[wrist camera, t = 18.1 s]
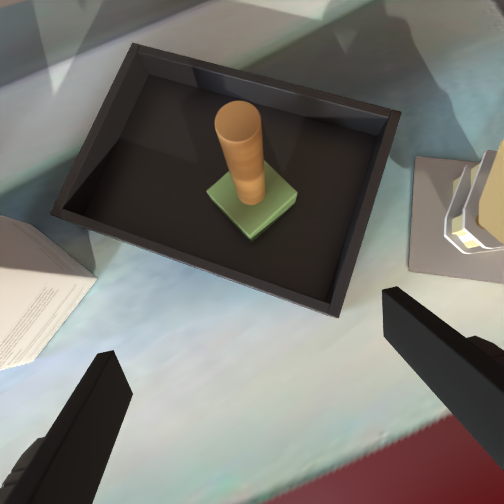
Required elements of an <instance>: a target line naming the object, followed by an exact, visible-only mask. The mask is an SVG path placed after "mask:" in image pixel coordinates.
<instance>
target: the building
mask: <svg viewBox="0 0 504 504" xmlns="http://www.w3.org/2000/svg"><path fill="white" fill-rule="evenodd" d="M409 271H412V272H419V273H426V274H434V275H441V276H449V277H456V278H464V279H471V280H479V281H486V282H494V283H501V284H504V140H502V141H501V144H500V146H499V149H498V151H492V150H488V151H486V152H485V153H484V155H483V157H482V160H481V163H480V162H469V161H459V160H448V159H438V158H427V157H417V156H415V170H414V187H413V204H412V221H411V239H410V256H409Z"/></svg>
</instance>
